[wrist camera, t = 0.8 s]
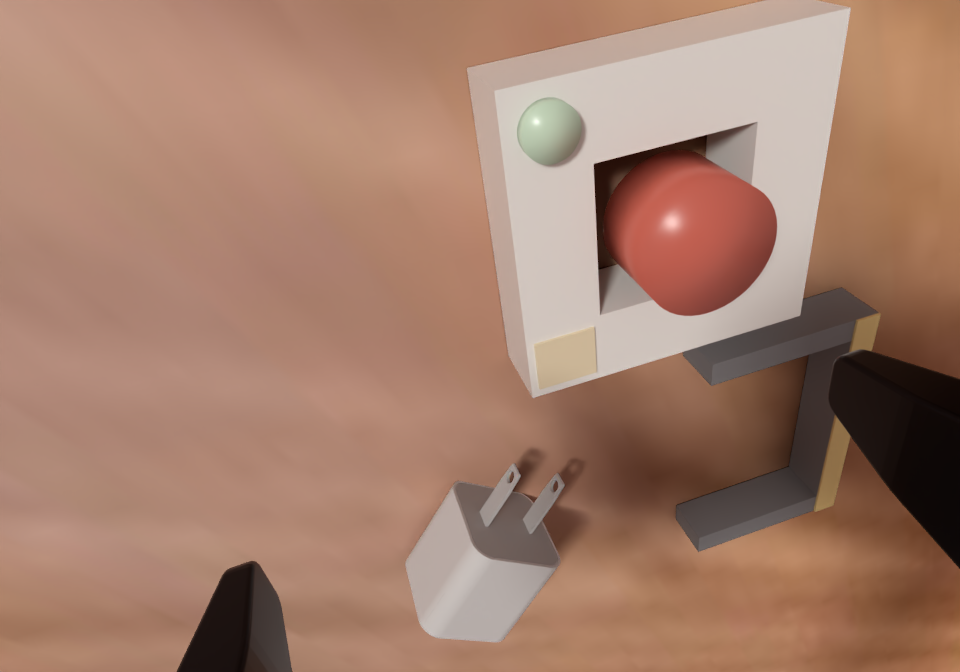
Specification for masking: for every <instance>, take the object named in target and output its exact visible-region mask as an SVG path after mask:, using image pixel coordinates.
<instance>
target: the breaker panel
mask: <svg viewBox="0 0 960 672" xmlns="http://www.w3.org/2000/svg"><path fill="white" fill-rule="evenodd" d="M850 10H851V8H850V7H845V6H841V5H836V4H831V3H827V2H822V1H817V0H765V1H761V2H756V3H752V4H747V5H743V6H739V7H734V8H730V9H725V10H721V11H717V12H712V13H708V14H703V15H699V16H694V17H690V18H686V19H681V20H677V21H672V22H668V23H664V24H659V25H655V26H650V27H646V28H641V29H637V30H633V31H628V32H624V33H619V34H615V35H611V36H606V37H602V38H597V39H593V40H588V41H584V42H580V43H575V44H571V45H566V46H562V47H558V48H553V49H549V50H544V51H540V52H535V53H531V54H527V55H522V56H518V57H513V58H509V59H505V60H500V61H496V62H491V63H487V64H482V65H478V66H474V67H469V68H467V73H468V80H469V87H470V94H471V101H472V107H473V114H474V121H475V128H476V135H477V142H478V149H479V156H480V162H481V169H482V176H483V183H484V190H485V197H486V204H487V211H488V217H489V224H490V231H491V238H492V245H493V252H494V259H495V266H496V273H497V279H498V286H499V293H500V300H501V307H502V314H503V321H504V328H505V334H506V341H507V348H508V355H509V357H510V359H511V361H512V363H513V364H514V366H515V368H516V370H517V371H518V373H519V375H520V377H521V378H522V380H523V382H524V384H525V386H526V387H527V389H528V391H529V393H530V394H531V396H532V398H535V397H538V396H541V395H544V394H548V393H551V392H554V391H557V390H561V389H564V388H567V387H570V386H574V385H577V384H580V383H583V382H587V381H590V380H593V379H596V378H600V377H603V376H606V375H609V374H613V373H616V372H619V371H622V370H626V369H629V368H632V367H635V366H639V365H642V364H645V363H648V362H652V361H655V360H658V359H661V358H665V357H668V356H671V355H674V354H677V353H681V352H684V351H687V350H690V349H694V348H697V347H700V346H703V345H707V344H710V343H713V342H716V341H720V340H723V339H726V338H729V337H733V336H736V335H739V334H742V333H746V332H749V331H752V330H755V329H759V328H762V327H765V326H768V325H772V324H775V323H778V322H781V321H785V320H788V319H791V318H794V317H798V316H800V313H801V307H802V301H803V295H804V289H805V283H806V277H807V271H808V265H809V259H810V253H811V247H812V241H813V235H814V228H815V222H816V216H817V210H818V204H819V198H820V192H821V186H822V180H823V174H824V168H825V162H826V156H827V150H828V144H829V137H830V131H831V125H832V119H833V113H834V107H835V101H836V95H837V89H838V83H839V77H840V71H841V65H842V59H843V52H844V46H845V40H846V34H847V28H848V22H849V16H850ZM704 135H707V144H706V158H707V159H709V160H710V161H712V162H714V163H715V164H717V165H719V166H720V167H722V168H724V169H725V170H727V171H729V172H730V173H732V174H734V175H735V176H737V177H739V178H740V179H742V180H744V181H745V182H747V183H749V184H751V185H752V186H754V187H756V188H757V189H759V190H760V191H761V192H763V193H764V194H765V195H766V196H767V197H768V198H769V200H770V202H771V203H772V205H773V207H774V210H775V213H776V218H777V236H776V241H775V245H774V248H773V251H772V254H771V256H770V258H769V261H768V262H767V264H766V266H765V268H764V269H763V271H762V272H761V274H760V275H759V277H758V278H757V279H756V280H755V281H754V283H753V284H752V285H751V286H750V287H749V288H748V289H747V290H746V291H745V292H744V293H742V294H741V295H740V296H739V297H738V298H736V299H735V300H733V301H732V302H730V303H729V304H727V305H725V306H724V307H722V308H719V309H717V310H715V311H712V312H709V313H706V314H702V315H695V316H682V315H676V314H673V313H670V312H668V311H666V310H664V309H663V308H662V307H660V306H659V305H658V304H657V303H656V302H655V301H654V300H653V299H652V298H651V297H650V296H649V295H648V294H647V293H646V292H645V291H644V290H643V289H642V288H641V287H640V286H639V285H638V284H637V283H636V282H635V281H634V280H633V279H632V278H631V277H630V276H629V275H628V274H627V273H626V272H625V271H624V270H623V269H622V268H621V267H620V266H619V265H618V264H617V265H614V266H610V267H607V268H603V269H599V270H598V254H597V231H596V208H595V186H594V164H595V163H599V162H603V161H607V160H610V159H614V158H618V157H622V156H626V155H630V154H634V153H638V152H642V151H646V150H649V149H653V148H657V147H661V146H665V145H669V144H673V143H677V142H681V141H685V140H688V139H692V138H696V137H700V136H704Z"/></svg>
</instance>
